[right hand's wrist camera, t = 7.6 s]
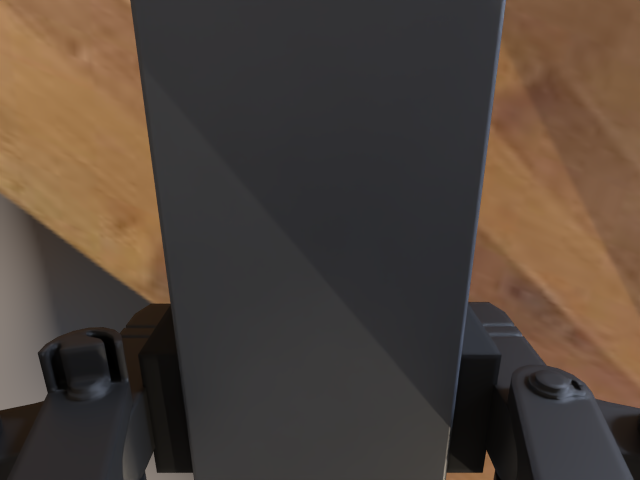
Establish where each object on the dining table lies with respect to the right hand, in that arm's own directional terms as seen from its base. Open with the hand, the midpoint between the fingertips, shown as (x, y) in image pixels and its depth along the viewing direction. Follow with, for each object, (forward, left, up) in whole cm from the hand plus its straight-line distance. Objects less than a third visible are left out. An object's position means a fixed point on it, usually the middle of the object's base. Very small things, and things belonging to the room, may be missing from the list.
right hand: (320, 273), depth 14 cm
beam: (-12, -22, -1) cm, 25 cm away
